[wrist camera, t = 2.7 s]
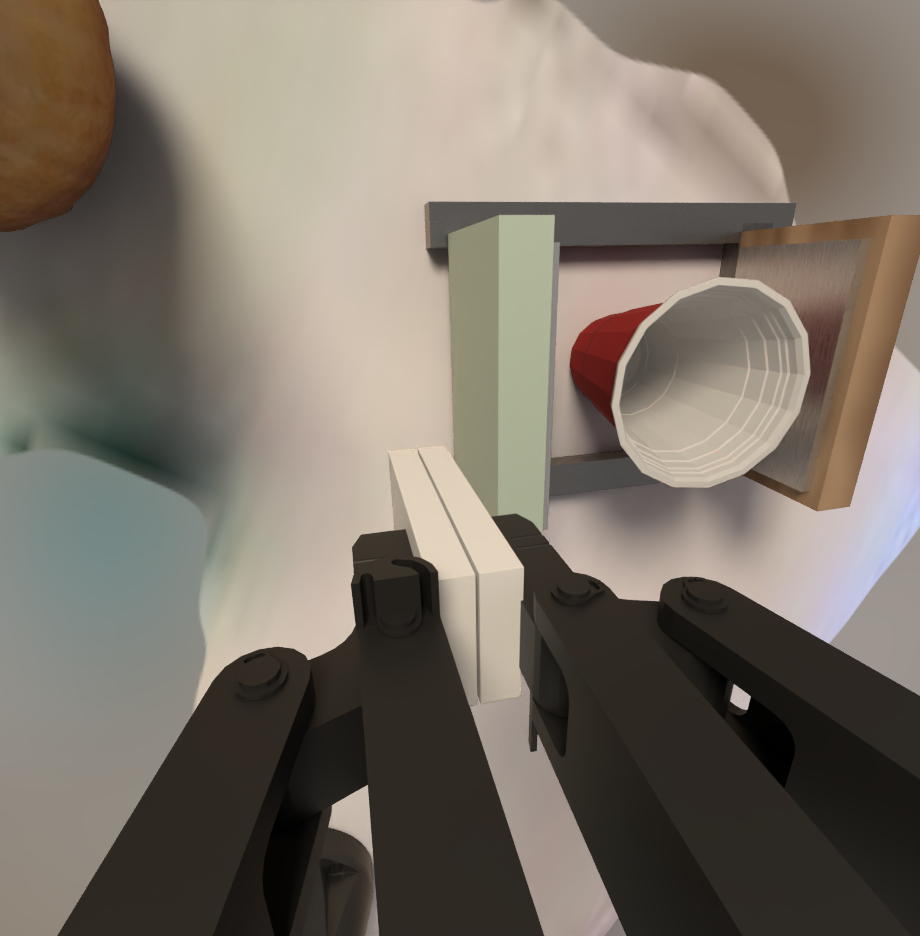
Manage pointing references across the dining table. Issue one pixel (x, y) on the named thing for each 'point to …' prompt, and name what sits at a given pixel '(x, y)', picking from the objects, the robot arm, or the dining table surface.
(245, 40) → the dining table surface
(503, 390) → the block
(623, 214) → the vise bed
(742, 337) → the plastic cup
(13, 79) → the butternut squash
